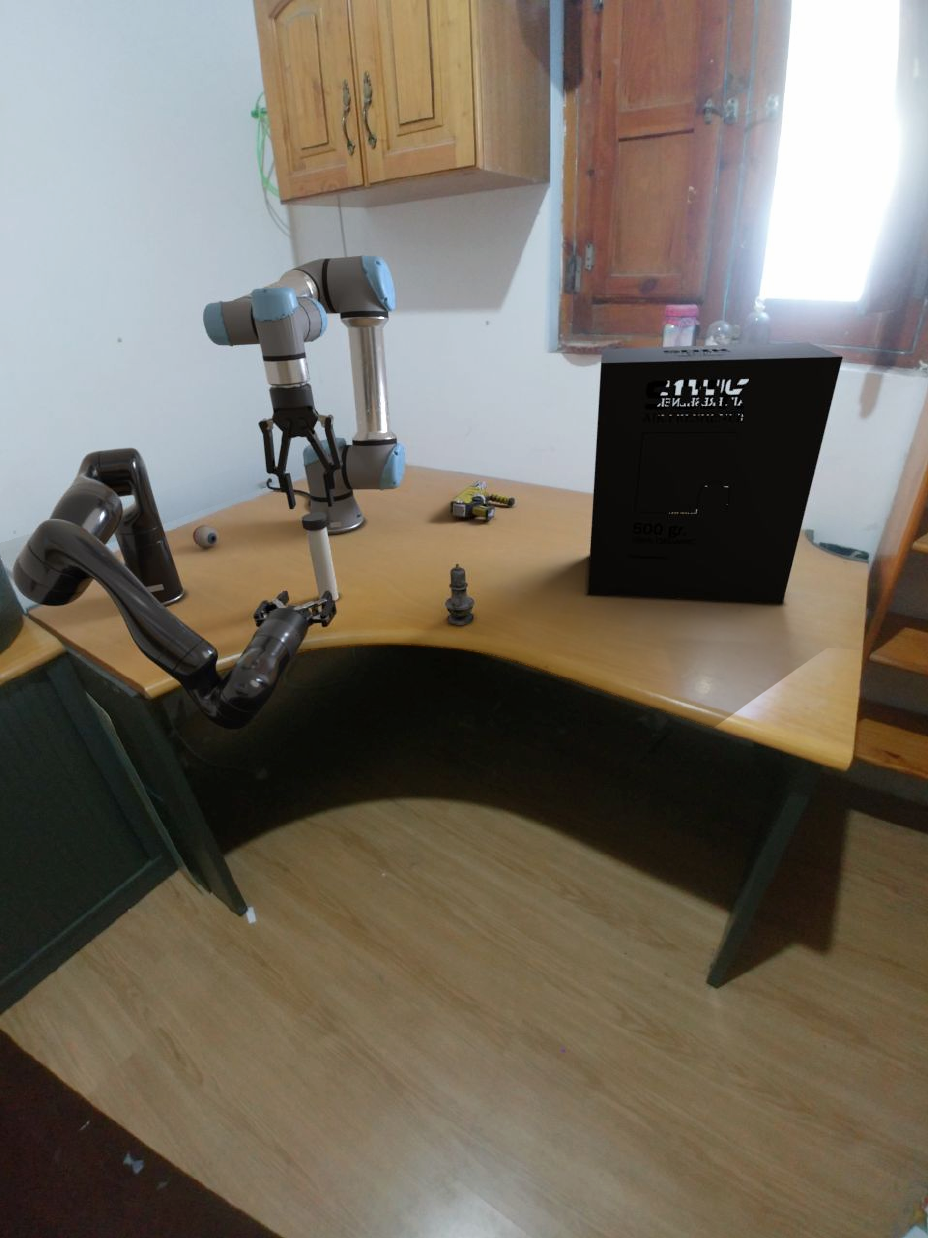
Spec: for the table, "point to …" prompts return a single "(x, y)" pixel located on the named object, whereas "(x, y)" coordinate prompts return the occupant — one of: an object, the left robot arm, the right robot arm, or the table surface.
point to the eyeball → (205, 536)
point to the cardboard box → (705, 469)
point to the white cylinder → (322, 562)
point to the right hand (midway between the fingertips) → (312, 505)
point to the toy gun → (477, 502)
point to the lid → (314, 521)
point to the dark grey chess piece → (459, 599)
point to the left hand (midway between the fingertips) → (307, 594)
